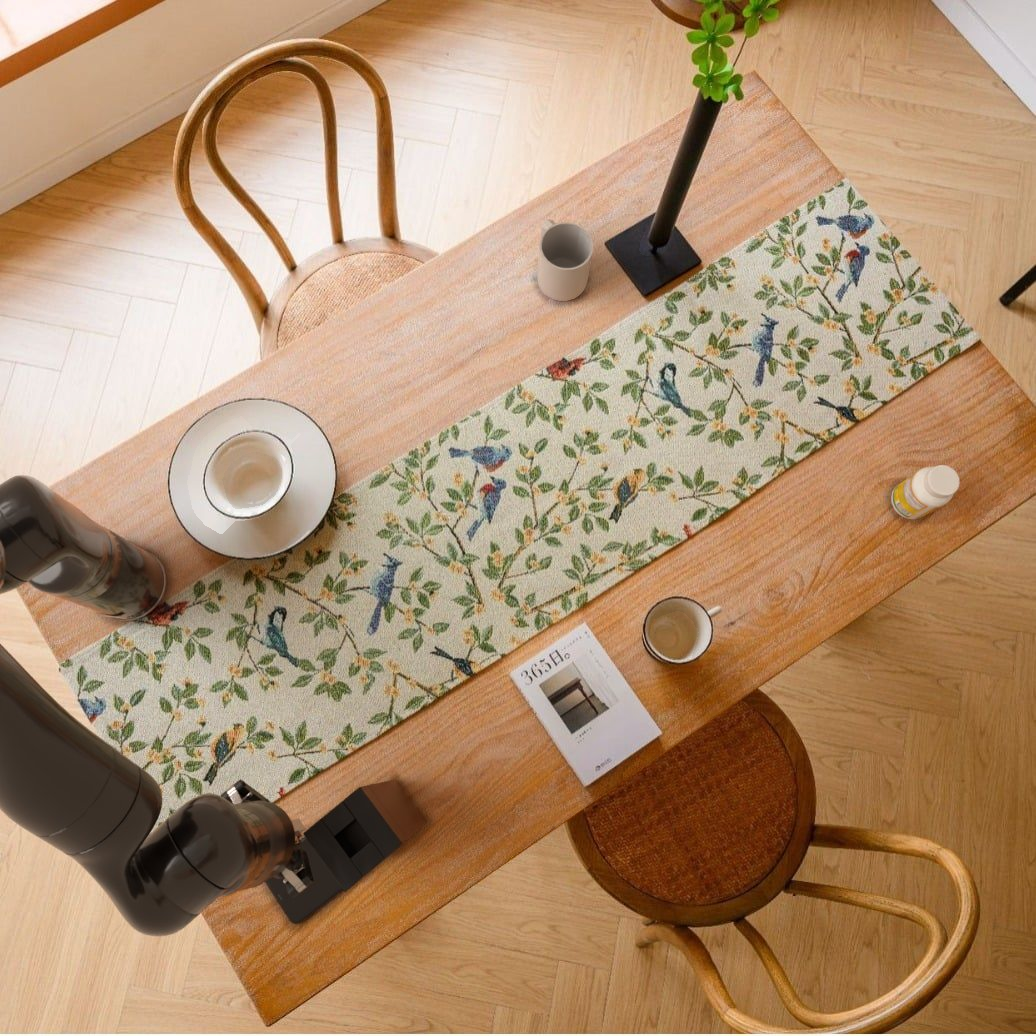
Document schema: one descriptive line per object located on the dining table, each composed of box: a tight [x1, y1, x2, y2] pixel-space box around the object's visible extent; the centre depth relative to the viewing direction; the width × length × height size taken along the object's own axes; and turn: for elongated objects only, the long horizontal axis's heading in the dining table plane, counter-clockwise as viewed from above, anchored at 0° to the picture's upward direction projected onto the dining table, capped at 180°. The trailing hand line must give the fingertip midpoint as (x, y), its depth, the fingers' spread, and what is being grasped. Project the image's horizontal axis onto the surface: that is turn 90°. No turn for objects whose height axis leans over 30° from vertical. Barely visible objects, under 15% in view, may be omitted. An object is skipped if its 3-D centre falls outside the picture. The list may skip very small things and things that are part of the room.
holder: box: [302, 779, 428, 893], centre depth 97 cm, size 6×6×30 cm
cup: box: [536, 218, 594, 302], centre depth 126 cm, size 7×10×9 cm
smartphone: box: [264, 836, 401, 925], centre depth 110 cm, size 8×1×16 cm
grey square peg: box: [291, 817, 307, 834], centre depth 101 cm, size 2×2×10 cm
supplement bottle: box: [890, 464, 961, 520], centre depth 118 cm, size 5×5×10 cm
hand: (286, 830), depth 101 cm, fingers closed on grey square peg, 1 cm apart
